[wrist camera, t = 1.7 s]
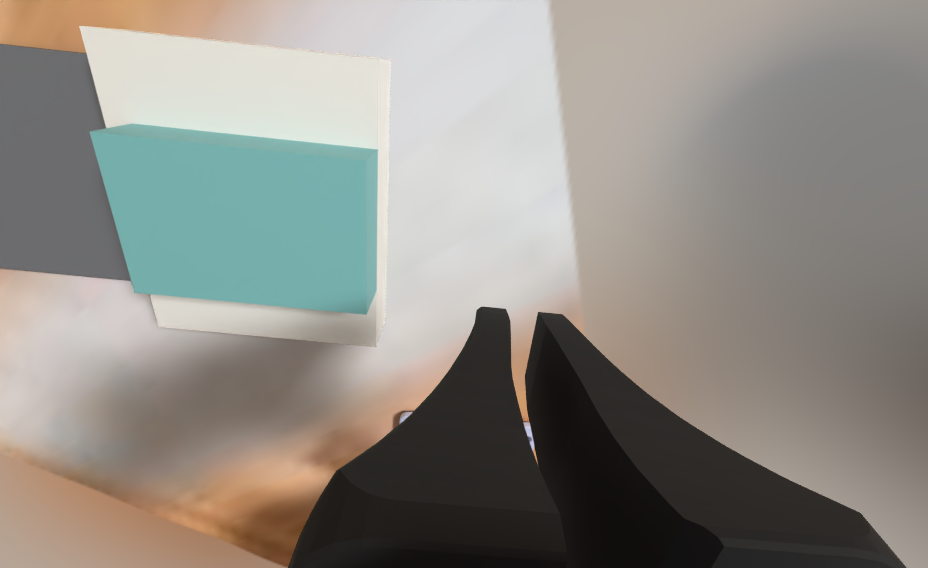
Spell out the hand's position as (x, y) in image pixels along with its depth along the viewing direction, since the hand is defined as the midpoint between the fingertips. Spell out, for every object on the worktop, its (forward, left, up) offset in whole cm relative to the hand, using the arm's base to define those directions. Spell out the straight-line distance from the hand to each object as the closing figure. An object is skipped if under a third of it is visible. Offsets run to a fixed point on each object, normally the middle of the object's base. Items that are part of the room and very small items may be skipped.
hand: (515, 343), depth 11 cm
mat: (0, +22, -10) cm, 24 cm away
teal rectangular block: (0, +10, -7) cm, 12 cm away
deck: (0, +10, -10) cm, 14 cm away
